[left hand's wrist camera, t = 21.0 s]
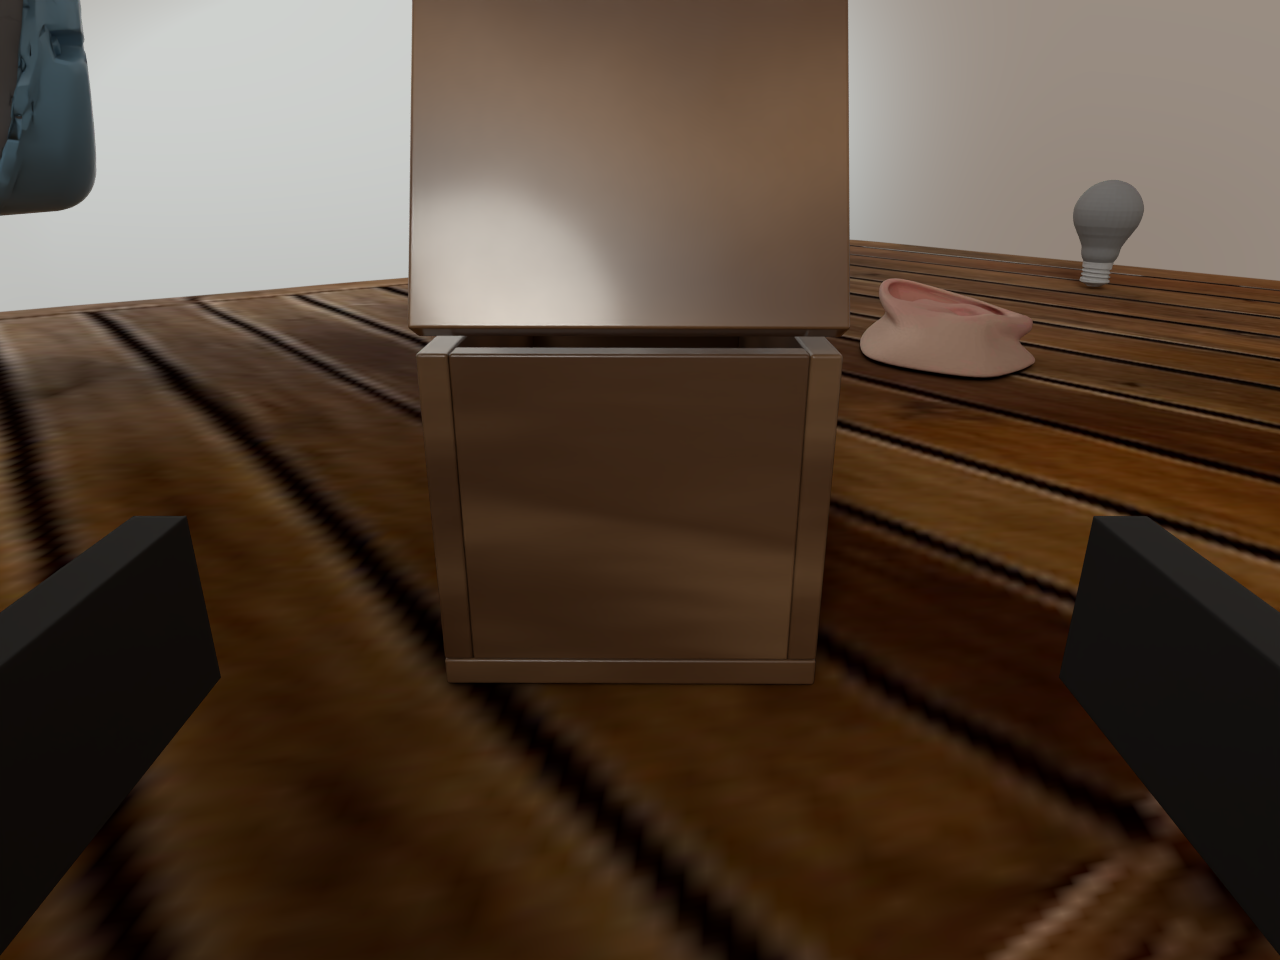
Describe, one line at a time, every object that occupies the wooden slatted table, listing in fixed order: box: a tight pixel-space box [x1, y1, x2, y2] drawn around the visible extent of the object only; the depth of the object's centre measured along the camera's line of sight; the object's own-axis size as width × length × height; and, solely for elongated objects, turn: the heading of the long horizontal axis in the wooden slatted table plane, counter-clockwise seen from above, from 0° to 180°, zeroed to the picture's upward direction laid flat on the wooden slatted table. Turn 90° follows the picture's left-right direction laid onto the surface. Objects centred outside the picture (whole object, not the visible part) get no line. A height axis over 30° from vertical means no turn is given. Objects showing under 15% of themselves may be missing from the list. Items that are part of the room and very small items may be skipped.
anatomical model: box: [860, 279, 1035, 378], centre depth 56 cm, size 13×4×12 cm
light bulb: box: [1073, 180, 1144, 287], centre depth 83 cm, size 6×6×10 cm
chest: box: [416, 336, 843, 684], centre depth 27 cm, size 15×10×9 cm, turn 0°
